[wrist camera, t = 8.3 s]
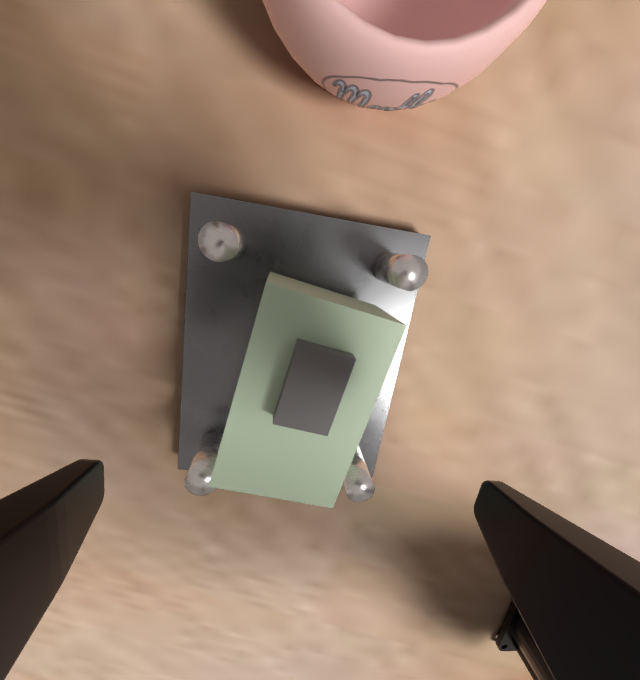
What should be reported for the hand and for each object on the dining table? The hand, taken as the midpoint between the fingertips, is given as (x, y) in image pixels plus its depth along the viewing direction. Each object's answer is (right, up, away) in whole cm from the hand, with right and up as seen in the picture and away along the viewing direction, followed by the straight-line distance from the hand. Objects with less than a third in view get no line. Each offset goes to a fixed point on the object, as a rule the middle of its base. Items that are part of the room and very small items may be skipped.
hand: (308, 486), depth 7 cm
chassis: (-1, +3, +10) cm, 10 cm away
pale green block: (-1, +2, +8) cm, 8 cm away
